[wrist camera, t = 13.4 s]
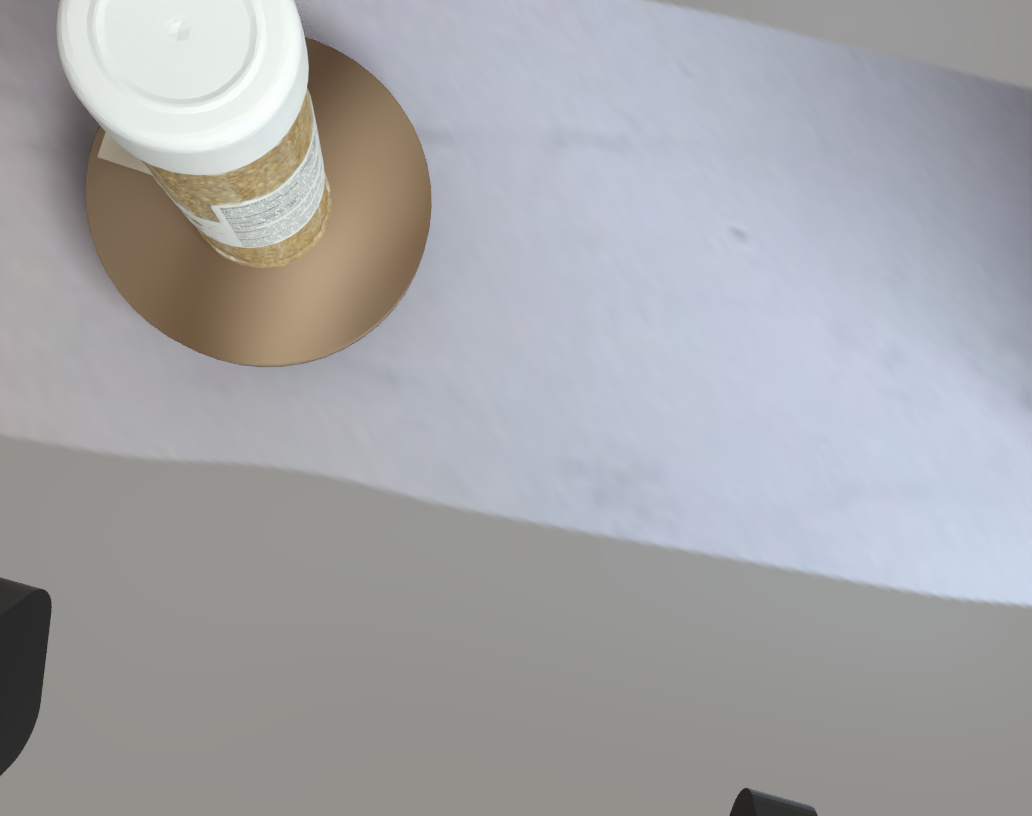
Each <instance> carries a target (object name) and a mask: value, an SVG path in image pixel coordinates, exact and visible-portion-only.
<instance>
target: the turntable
mask: <svg viewBox="0 0 1032 816" xmlns="http://www.w3.org/2000/svg"><path fill="white" fill-rule="evenodd" d="M305 42H306V47H307V54H308V65H309V71H308V84H307V89H308V91H309V94H310V96H311V100H312V105H313V110H314V115H315V119H316V124H317V129H318V135H319V140H320V146H321V152H322V157H323V163H324V172H325V174H326V176H327V178H328V181H329V184H330V189H331V197H332V207H331V215H330V219H329V222H328V224H327V227H326V230H325V233H324V235H323V236H322V237H321V239H320V240H319V241H318V243H317V244H316V245H315V246H314V248H313V249H312V250H310V251H309V252H307V253H306V254H305V255H304V256H302V257H301V258H299V259H297V260H295V261H292V262H290V263H289V264H287V265H285V266H280V267H270V268H255V267H250V266H244V265H240V264H238V263H235V262H233V261H230V260H228V259H226V258H224V257H223V256H221V255H220V254H219V253H217V252H216V251H215V250H214V249H213V248H212V247H211V246H210V245H209V244H208V243H207V242H206V241H205V240H204V239H203V237H202V236H201V234H200V233H199V231H198V230H197V227H195V226H194V225H193V224H192V223H191V222H190V221H189V219H188V218H187V217H186V216H185V215H184V214H183V212H182V211H181V210H180V209H179V208H178V206H177V205H176V204H175V203H174V202H173V200H172V199H171V198H170V197H169V196H168V194H167V193H166V192H165V191H164V189H163V188H162V187H161V186H160V185H159V184H158V183H157V181H156V180H155V178H154V177H153V176H152V174H151V173H150V171H149V169H148V168H147V166H146V165H145V164H144V163H143V162H142V160H140V159H138V158H136V157H135V156H133V155H132V154H130V153H129V152H127V151H126V150H125V149H123V148H122V147H121V146H120V145H119V144H118V143H116V142H115V141H114V140H113V139H112V138H111V137H110V136H109V135H108V134H107V132H106V131H105V130H104V129H103V128H102V127H101V126H99V129H98V131H97V133H96V136H95V138H94V141H93V145H92V148H91V152H90V156H89V160H88V166H87V174H86V183H85V189H86V210H87V216H88V222H89V229H90V232H91V235H92V238H93V242H94V245H95V248H96V251H97V253H98V255H99V258H100V260H101V262H102V264H103V266H104V268H105V270H106V272H107V274H108V275H109V277H110V278H111V280H112V282H113V283H114V285H115V286H116V288H117V290H118V291H119V292H120V293H121V294H122V296H123V297H124V298H125V299H126V300H127V302H128V303H129V304H130V305H131V306H132V308H133V309H134V310H136V311H137V312H138V313H139V314H140V315H141V316H142V317H143V318H144V319H145V320H146V321H148V322H149V323H150V324H151V325H152V326H154V327H155V328H157V329H158V330H160V331H161V332H162V333H164V334H165V335H167V336H168V337H170V338H172V339H174V340H175V341H177V342H179V343H181V344H183V345H185V346H187V347H189V348H191V349H193V350H195V351H197V352H199V353H202V354H204V355H207V356H210V357H212V358H215V359H218V360H222V361H226V362H230V363H234V364H239V365H247V366H256V367H283V366H290V365H297V364H303V363H307V362H311V361H314V360H318V359H321V358H325V357H327V356H329V355H332V354H334V353H336V352H339V351H341V350H343V349H345V348H347V347H349V346H350V345H352V344H354V343H355V342H357V341H359V340H360V339H362V338H363V337H364V336H366V335H367V334H368V333H370V332H371V331H372V330H373V329H375V328H376V327H377V326H378V325H379V324H380V323H381V322H382V321H383V320H384V319H385V318H386V317H387V316H388V315H389V314H390V313H391V312H392V311H393V310H394V308H395V307H396V306H397V304H398V303H399V301H400V300H401V299H402V297H403V296H404V295H405V293H406V291H407V289H408V288H409V286H410V284H411V282H412V280H413V278H414V277H415V274H416V271H417V269H418V266H419V264H420V261H421V258H422V255H423V252H424V249H425V245H426V240H427V236H428V232H429V227H430V217H431V185H430V178H429V172H428V166H427V162H426V159H425V156H424V152H423V149H422V146H421V143H420V141H419V139H418V136H417V134H416V132H415V130H414V127H413V125H412V123H411V122H410V120H409V119H408V117H407V115H406V114H405V112H404V110H403V109H402V107H401V106H400V104H399V103H398V102H397V101H396V99H395V98H394V97H393V96H392V94H391V93H390V92H389V91H388V89H387V88H386V87H385V86H384V85H383V84H382V83H381V82H380V81H379V80H378V79H377V78H376V77H374V76H373V75H372V74H371V73H370V72H369V71H367V70H366V69H365V68H363V67H362V66H361V65H360V64H358V63H357V62H356V61H354V60H353V59H351V58H349V57H348V56H346V55H344V54H342V53H341V52H339V51H337V50H336V49H334V48H331V47H329V46H327V45H324V44H322V43H320V42H317V41H315V40H312V39H308V38H305Z"/></svg>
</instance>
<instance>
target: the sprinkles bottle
mask: <svg viewBox="0 0 1032 816" xmlns="http://www.w3.org/2000/svg"><path fill="white" fill-rule="evenodd" d="M56 34H57V47H58V52H59V57H60V61H61V64H62V67H63V70H64V72H65V75H66V77H67V80H68V82H69V83H70V85H71V87H72V89H73V91H74V92H75V94H76V95H77V97H78V99H79V100H80V101H81V103H82V104H83V105H84V107H85V108H86V109H87V110H88V112H89V113H90V114H91V115H92V117H93V118H94V119H95V120H96V121H97V122H98V123H99V125H100V126H101V127H102V128H103V129H104V130H105V131H106V132H107V134H108V135H109V136H110V137H111V138H112V139H113V140H114V141H115V142H116V143H118V144H119V145H120V146H121V147H122V148H123V149H125V150H126V151H127V152H129V153H130V154H132V155H133V156H135V157H136V158H138V159H140V160H142V162H143V163H144V164H145V165H146V166H147V168H148V169H149V171H150V173H151V174H152V176H153V177H154V178H155V180H156V181H157V183H158V184H159V185H160V186H161V187H162V188H163V189H164V191H165V192H166V193H167V194H168V196H169V197H170V198H171V199H172V200H173V202H174V203H175V204H176V205H177V206H178V208H179V209H180V210H181V211H182V212H183V214H184V215H185V216H186V217H187V218H188V219H189V221H190V222H191V223H192V224H193V225H194V226H195V227H197V230H198V231H199V233H200V234H201V236H202V237H203V239H204V240H205V241H206V242H207V243H208V244H209V245H210V246H211V247H212V248H213V249H214V250H215V251H216V252H217V253H219V254H220V255H221V256H223V257H224V258H226V259H228V260H230V261H233V262H235V263H238V264H240V265H244V266H250V267H255V268H270V267H280V266H285V265H287V264H289V263H290V262H292V261H295V260H297V259H299V258H301V257H302V256H304V255H305V254H306V253H307V252H309V251H310V250H312V249H313V248H314V246H315V245H316V244H317V243H318V241H319V240H320V239H321V237H322V236H323V235H324V233H325V230H326V227H327V224H328V222H329V219H330V215H331V207H332V197H331V189H330V184H329V181H328V178H327V176H326V174H325V172H324V163H323V157H322V152H321V146H320V140H319V135H318V129H317V124H316V119H315V115H314V110H313V105H312V100H311V96H310V94H309V91H308V89H307V84H308V71H309V65H308V54H307V47H306V42H305V37H304V32H303V28H302V24H301V20H300V17H299V14H298V11H297V8H296V4H295V1H294V0H60V3H59V6H58V13H57V21H56Z"/></svg>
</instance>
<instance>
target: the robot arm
mask: <svg viewBox="0 0 1032 816" xmlns="http://www.w3.org/2000/svg"><path fill="white" fill-rule="evenodd" d="M51 608H52V606H51V598H50V595H49V594H48V592H47V591H46V590H43V589H39V588H36V587H32V586H29V585H25V584H22V583H18V582H14V581H11V580H7V579H4V578H0V776H1V775H2V774H3V773H4V772H5V771H6V769H7V768H9V767H10V765H11V764H12V763H13V762H14V761H15V760H16V758H17V757H18V756H19V754H20V753H21V751H22V750H23V748H24V746H25V745H26V743H27V741H28V739H29V737H30V735H31V733H32V731H33V729H34V726H35V723H36V720H37V717H38V714H39V709H40V703H41V695H42V686H43V678H44V669H45V661H46V653H47V644H48V635H49V627H50V619H51ZM730 816H817V813H816V811H815V809H814V808H813V807H812V806H809V805H806V804H802V803H799V802H795V801H791V800H788V799H784V798H781V797H777V796H773V795H770V794H766V793H763V792H759V791H755V790H752V789H748V788H744V789H743V790H742V791H741V792H740V793H739V795H738V796H737V798H736V800H735V802H734V805H733V807H732V810H731V813H730Z"/></svg>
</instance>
